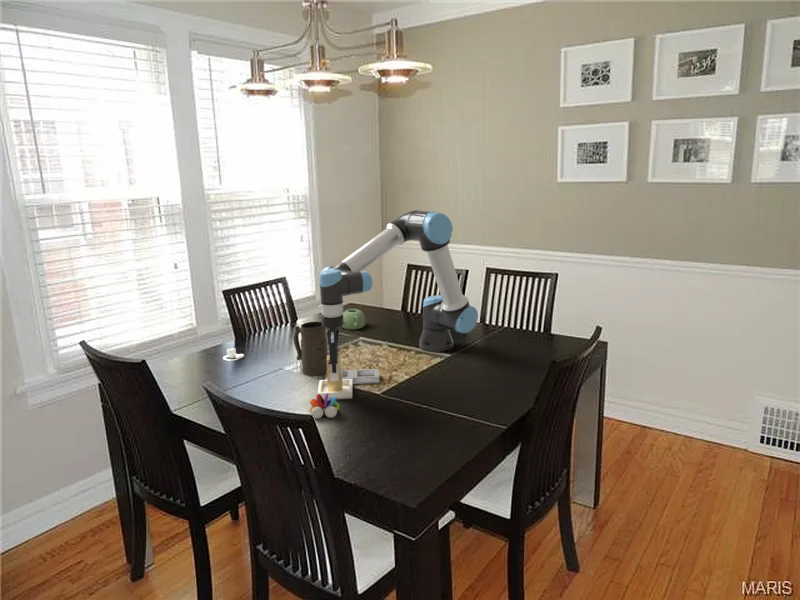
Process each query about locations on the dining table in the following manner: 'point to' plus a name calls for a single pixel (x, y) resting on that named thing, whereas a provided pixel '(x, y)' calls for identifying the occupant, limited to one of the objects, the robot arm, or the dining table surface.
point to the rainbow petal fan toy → (324, 406)
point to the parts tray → (343, 394)
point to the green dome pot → (353, 319)
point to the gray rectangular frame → (367, 374)
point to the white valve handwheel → (233, 354)
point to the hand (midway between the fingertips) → (335, 377)
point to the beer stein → (312, 347)
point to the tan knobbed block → (338, 384)
